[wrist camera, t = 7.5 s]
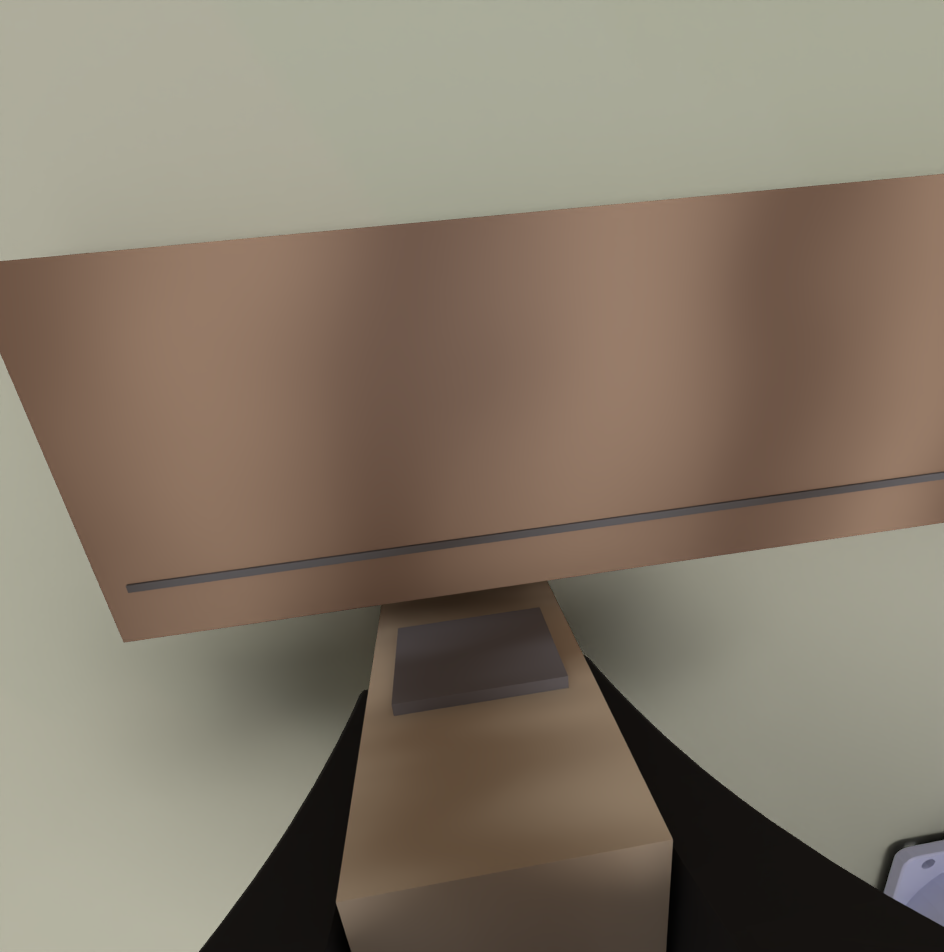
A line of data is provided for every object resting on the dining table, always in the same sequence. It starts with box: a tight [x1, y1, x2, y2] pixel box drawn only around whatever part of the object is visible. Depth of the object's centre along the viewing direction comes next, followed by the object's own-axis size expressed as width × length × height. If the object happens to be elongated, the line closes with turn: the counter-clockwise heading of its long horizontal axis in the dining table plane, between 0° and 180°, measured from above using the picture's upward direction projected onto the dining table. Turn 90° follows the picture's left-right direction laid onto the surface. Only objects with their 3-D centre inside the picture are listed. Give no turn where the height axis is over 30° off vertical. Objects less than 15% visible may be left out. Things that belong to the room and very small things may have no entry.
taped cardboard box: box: [336, 581, 673, 952], centre depth 9 cm, size 4×5×6 cm
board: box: [0, 174, 944, 642], centre depth 10 cm, size 28×7×2 cm, turn 96°
